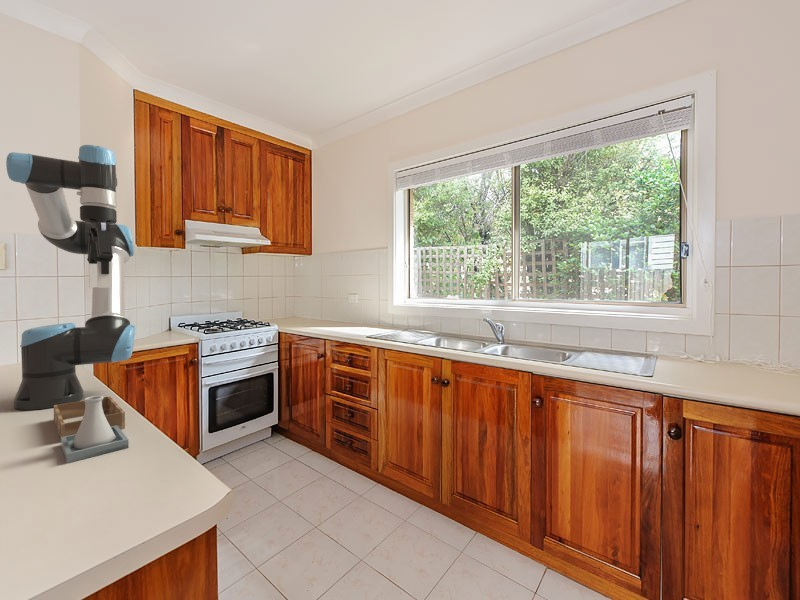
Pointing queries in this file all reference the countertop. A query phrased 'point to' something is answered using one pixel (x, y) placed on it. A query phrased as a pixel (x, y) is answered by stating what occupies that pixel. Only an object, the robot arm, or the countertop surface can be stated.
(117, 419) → the caddy
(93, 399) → the flask
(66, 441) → the tray
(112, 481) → the countertop surface
